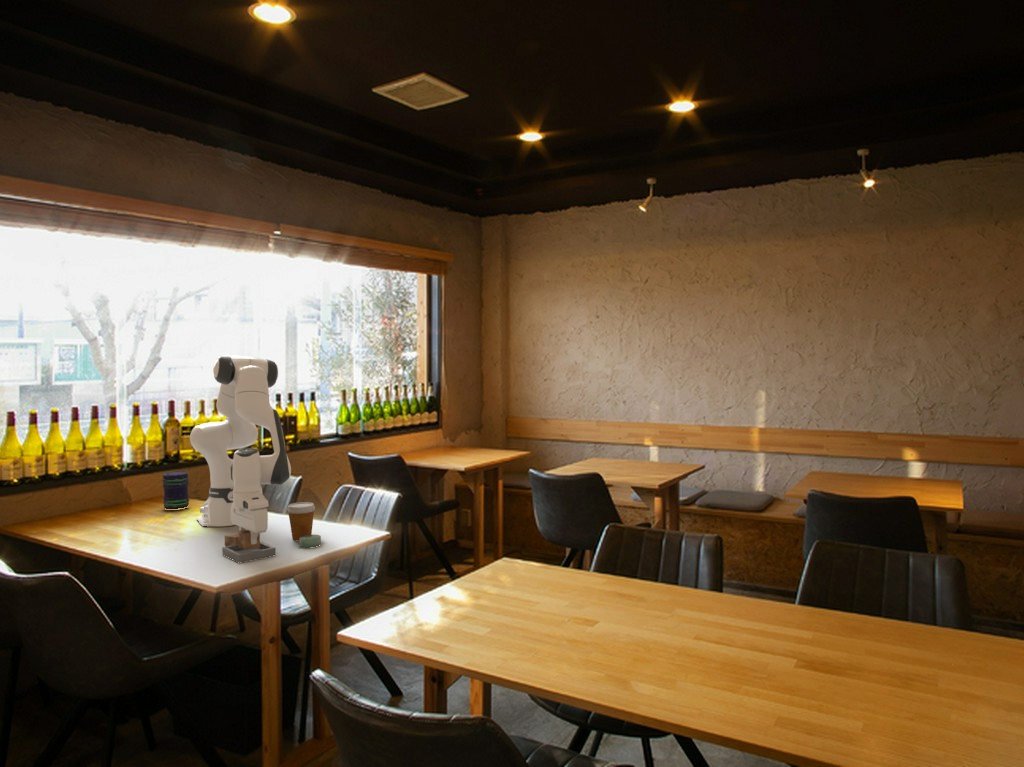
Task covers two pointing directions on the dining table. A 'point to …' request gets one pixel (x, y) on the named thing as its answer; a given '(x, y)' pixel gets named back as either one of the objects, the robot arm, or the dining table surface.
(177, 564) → the dining table surface
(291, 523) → the disposable coffee cup
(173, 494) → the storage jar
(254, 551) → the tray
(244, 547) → the walnut block
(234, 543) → the walnut block
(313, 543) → the sponge
